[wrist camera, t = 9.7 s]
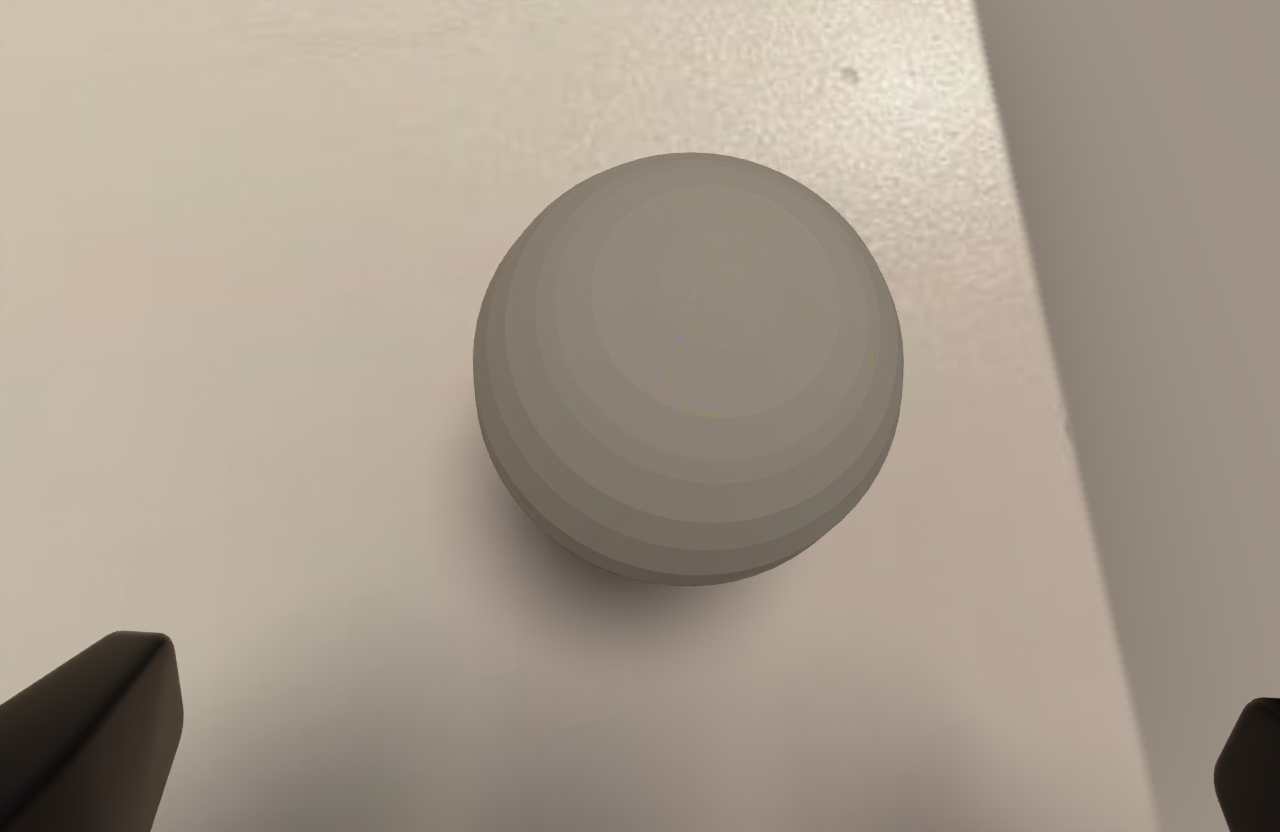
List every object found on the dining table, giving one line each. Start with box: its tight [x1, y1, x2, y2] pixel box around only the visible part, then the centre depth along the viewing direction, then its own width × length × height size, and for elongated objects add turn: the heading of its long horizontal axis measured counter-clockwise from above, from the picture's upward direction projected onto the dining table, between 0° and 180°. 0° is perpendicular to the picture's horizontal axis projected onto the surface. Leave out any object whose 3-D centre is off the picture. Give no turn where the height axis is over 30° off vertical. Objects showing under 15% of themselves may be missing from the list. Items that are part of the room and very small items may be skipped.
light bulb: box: [473, 153, 904, 586], centre depth 15 cm, size 5×6×10 cm
